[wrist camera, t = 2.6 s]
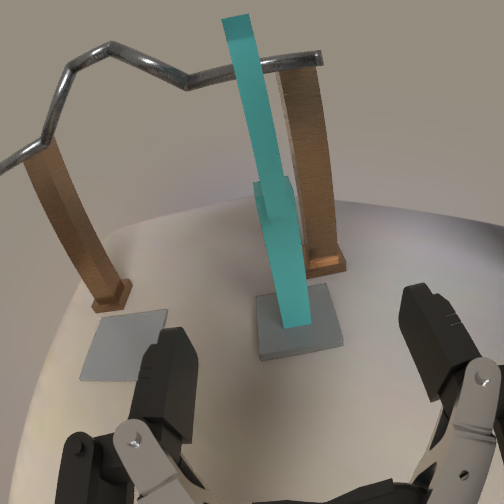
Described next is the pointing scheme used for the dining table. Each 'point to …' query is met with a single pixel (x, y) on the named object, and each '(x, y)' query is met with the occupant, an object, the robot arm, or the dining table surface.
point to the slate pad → (122, 346)
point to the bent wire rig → (285, 67)
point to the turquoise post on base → (278, 222)
